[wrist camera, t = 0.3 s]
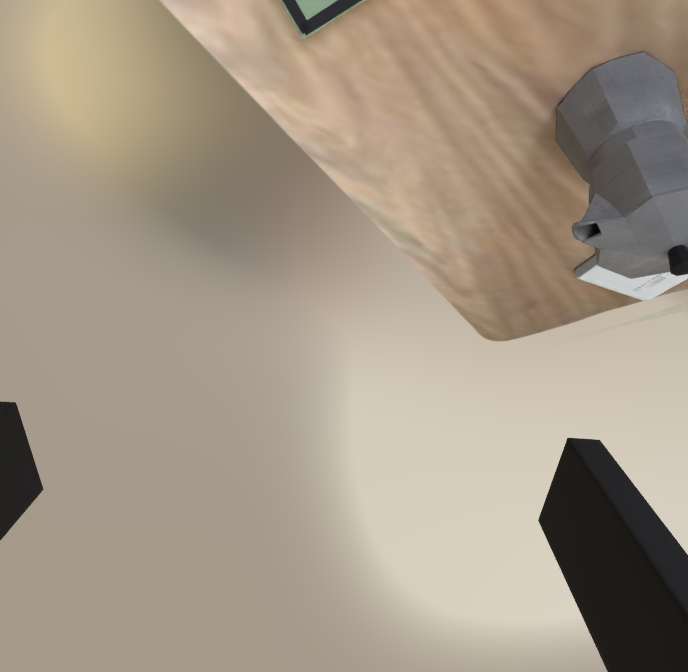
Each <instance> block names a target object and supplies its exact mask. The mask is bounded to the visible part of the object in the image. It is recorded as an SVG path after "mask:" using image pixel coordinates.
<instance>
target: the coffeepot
mask: <svg viewBox="0 0 688 672" xmlns="http://www.w3.org/2000/svg"><path fill="white" fill-rule="evenodd" d="M556 127H557V133H556V142H557V143H558V145H559V146H560V148H561V149H562V150H563V152H564V153H565V155H566V156H567V157H568V159H569V160H570V162H571V163H572V164H573V166H574V167H575V169H576V170H577V171H578V173H579V174H580V175H581V177H582V178H583V180H585V181H586V182H588V183H589V184H590V188H589V208H588V210H587V212H586V214H585V216H584V217H583V219H582V220H581V221H580V222H577V223H574V224H573V226H572V232H573V235H574V237H575V238H576V239H577V240H580V241H583V243H585V244H587V245H590V246H593V247H595V252H596V259H597V265H598V266H599V267H602V268H604V269H607V270H609V271H612V272H614V273H617V274H620V275H622V276H625V277H627V278H630V279H633V278H639V277H645V276H650V275H656V274H662V273H667V272H671V274H673V275H676V276H680V275H686V274H688V136H687V135H686V131H687V122H686V118H685V114H684V109H683V105H682V101H681V97H680V92H679V88H678V84H677V80H676V75H675V72H674V71H673V70H671V69H670V68H668V67H667V66H665V65H664V64H663V63H661V62H660V61H659V60H657V59H655V58H653V57H651V56H650V55H648V54H646V53H645V52H642V53H637V54H633V55H628V56H624V57H620V58H616V59H614V60H611V61H609V62H606V63H604V64H602V65H600V66H599V67H595V68H592V69H591V70H590V71H589V72H588V73H587V74H586V75H585V76H584V77H583V78H582V79H580V80H579V81H578V82H577V83H576V84H575V85H574V86H573V87H572V89H571V90H570V91H569V93H568V94H567V95H566V97H565V98H564V100H563V101H562V102H561V104H560V105H559V106H558V107H557V120H556Z"/></svg>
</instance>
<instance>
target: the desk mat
mask: <svg viewBox="0 0 688 672" xmlns="http://www.w3.org/2000/svg"><path fill="white" fill-rule="evenodd" d="M280 1H281V3H282V5H283V6H284V8H285V10H286V11H287V13H288V15H289V16H290V18H291V20H292V22H293V23H294V25H295V27H296V28H297V30H298V32H299V33H300V35H301V37H302V38H303V40H304V39H306V38H307V37H309V36H310V35H312V34H313V33H315V32H317V31H318V30H320V29H321V28H323V27H325V26H326V25H328V24H329V23H331V22H332V21H334V20H336V19H337V18H339V17H340V16H342V15H344V14H345V13H347V12H348V11H350V10H352V9H353V8H355V7H356V6H358V5H359V4H361V3H363V2H364V1H366V0H280Z"/></svg>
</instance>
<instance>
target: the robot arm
mask: <svg viewBox="0 0 688 672" xmlns="http://www.w3.org/2000/svg"><path fill="white" fill-rule="evenodd" d="M42 490H43V487H42V484H41V480H40V477H39V474H38V471H37V468H36V465H35V462H34V458H33V455H32V452H31V449H30V446H29V443H28V439H27V436H26V433H25V430H24V427H23V424H22V420H21V417H20V414H19V411H18V408H17V405H16V403H14V402H0V540H1V539H2V538H3V536H5V534H6V533H7V532H8V531H9V530H10V528H11V527H12V526H13V525H14V524H15V522H16V521H17V520H18V519H19V517H21V515H22V514H23V513H24V512H25V510H26V509H27V508H28V507H29V506H30V505H31V503H32V502H33V501H34V500H35V499H36V498H37V496H38V495H39V494H40V493H41V491H42ZM539 523H540V525H541V527H542V530H543V532H544V534H545V536H546V538H547V540H548V543H549V545H550V547H551V549H552V551H553V553H554V556H555V558H556V560H557V562H558V564H559V567H560V568H561V571H562V573H563V575H564V577H565V580H566V582H567V584H568V586H569V588H570V591H571V593H572V595H573V597H574V599H575V601H576V603H577V606H578V608H579V610H580V612H581V614H582V617H583V619H584V621H585V623H586V625H587V628H588V630H589V632H590V634H591V636H592V638H593V641H594V643H595V645H596V647H597V649H598V651H599V654H600V656H601V658H602V660H603V662H604V665H605V667H606V669H607V671H608V672H688V555H687V553H686V552H685V551H684V550H683V548H682V547H681V546H680V544H679V543H678V542H677V540H676V539H675V538H674V536H673V535H672V534H671V533H670V531H669V530H668V529H667V527H666V526H665V525H664V523H663V522H662V521H661V520H660V518H659V517H658V516H657V514H656V513H655V512H654V510H653V509H652V508H651V506H650V505H649V504H648V503H647V501H646V500H645V499H644V497H643V496H642V495H641V494H640V492H639V491H638V489H637V488H636V487H635V486H634V484H633V483H632V482H631V480H630V479H629V478H628V477H627V475H626V474H625V472H624V471H623V470H622V469H621V467H620V466H619V465H618V464H617V462H616V461H615V460H614V458H613V457H612V456H611V454H610V453H609V452H608V451H607V449H606V448H605V446H604V445H603V444H602V443H601V441H600V440H592V439H577V438H567V441H566V444H565V447H564V450H563V452H562V455H561V458H560V461H559V464H558V467H557V469H556V472H555V475H554V478H553V481H552V483H551V486H550V489H549V492H548V494H547V498H546V500H545V503H544V506H543V509H542V511H541V514H540V517H539Z"/></svg>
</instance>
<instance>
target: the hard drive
mask: <svg viewBox="0 0 688 672" xmlns="http://www.w3.org/2000/svg"><path fill="white" fill-rule="evenodd" d="M574 273H575V276H576V278H577V279H580V280H583V281H586V282H589V283H592V284H595V285H598V286H601V287H604V288H607V289H610V290H613V291H616V292H619V293H622V294H625V295H628V296H631V297H634V298H638V299H640V300H643V301H649V300H651V299H652V298H654V297H656V296H658V295H659V294H661V293H663V292H665V291H666V290H668V289H670V288H672V287H674V286H675V285H677V284H679V283H681V282H683V281H684V280H686V279H688V274H686V275H680V276H676V275H673V274H671V272H667V273H662V274H656V275H650V276H645V277H639V278H633V279H630V278H627V277H625V276H622V275H620V274H617V273H614V272H612V271H609V270H607V269H604V268H602V267H599V266H598V265H597V259H596V254H595V255H594V256H593V257H591V258H590V259H588V260H587V261H586V262H584V263H583V264H582V265H580V266H579V267H577V268H576V269H575V271H574Z"/></svg>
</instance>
